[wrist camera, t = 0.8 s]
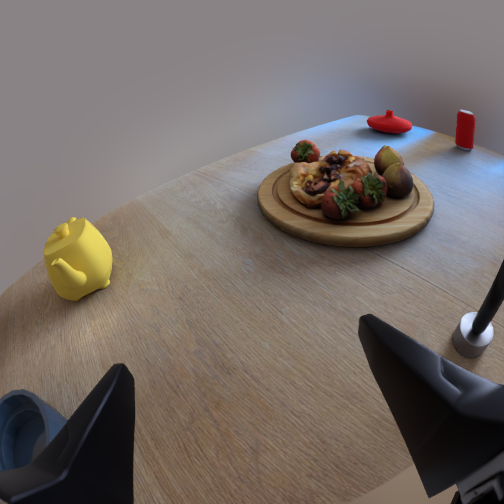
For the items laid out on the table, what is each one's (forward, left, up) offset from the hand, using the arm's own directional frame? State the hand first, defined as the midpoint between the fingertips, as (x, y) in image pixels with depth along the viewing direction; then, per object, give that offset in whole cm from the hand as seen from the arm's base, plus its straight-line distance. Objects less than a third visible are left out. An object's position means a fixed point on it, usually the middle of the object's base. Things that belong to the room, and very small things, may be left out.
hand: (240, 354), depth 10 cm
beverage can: (+43, -80, -16) cm, 92 cm away
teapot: (+31, +20, -16) cm, 40 cm away
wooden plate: (+33, -26, -16) cm, 45 cm away
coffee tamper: (0, -22, -16) cm, 27 cm away
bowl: (+3, +26, -16) cm, 30 cm away
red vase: (+65, -66, -16) cm, 94 cm away
